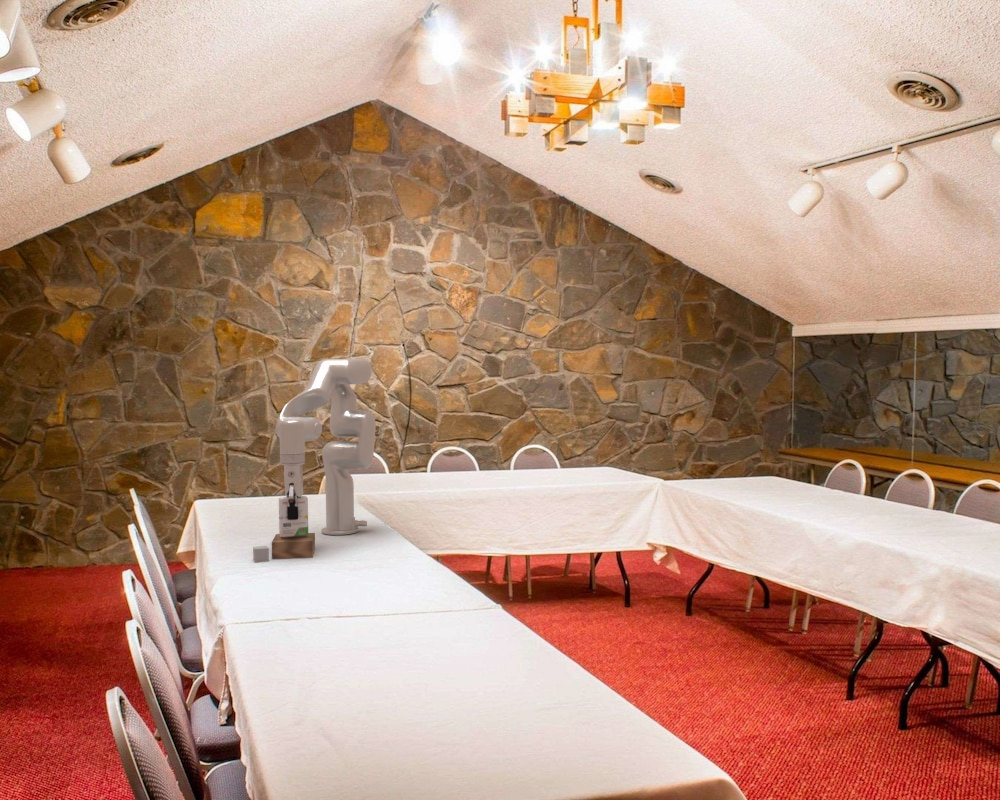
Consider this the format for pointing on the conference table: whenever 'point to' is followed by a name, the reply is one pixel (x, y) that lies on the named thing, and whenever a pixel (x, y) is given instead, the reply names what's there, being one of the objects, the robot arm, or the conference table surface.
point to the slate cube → (261, 554)
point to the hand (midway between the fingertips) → (293, 517)
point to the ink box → (293, 526)
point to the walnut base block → (293, 546)
